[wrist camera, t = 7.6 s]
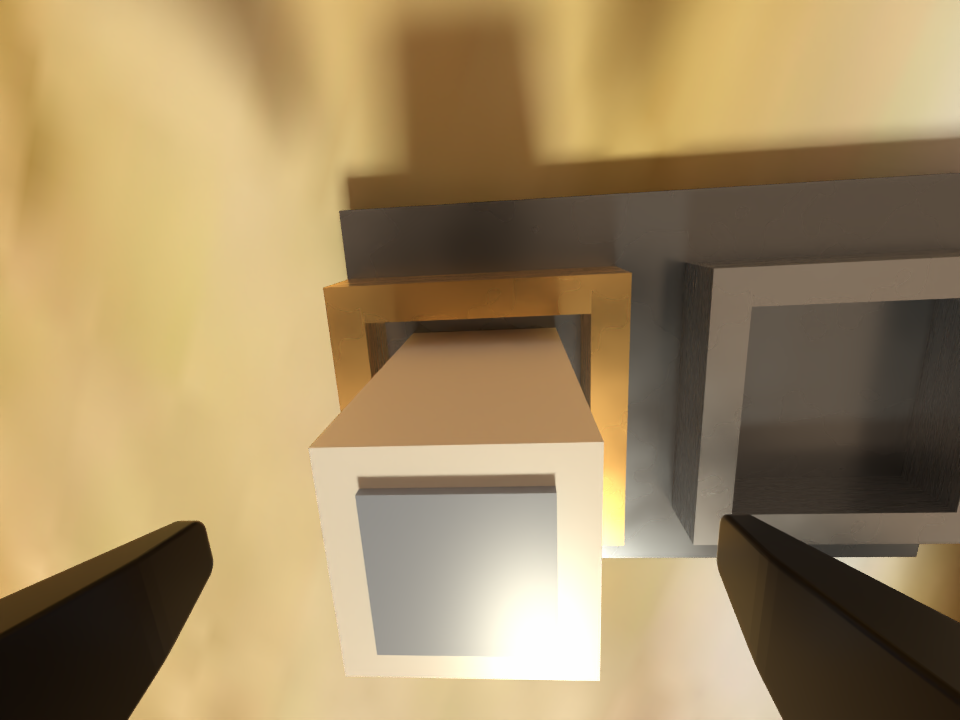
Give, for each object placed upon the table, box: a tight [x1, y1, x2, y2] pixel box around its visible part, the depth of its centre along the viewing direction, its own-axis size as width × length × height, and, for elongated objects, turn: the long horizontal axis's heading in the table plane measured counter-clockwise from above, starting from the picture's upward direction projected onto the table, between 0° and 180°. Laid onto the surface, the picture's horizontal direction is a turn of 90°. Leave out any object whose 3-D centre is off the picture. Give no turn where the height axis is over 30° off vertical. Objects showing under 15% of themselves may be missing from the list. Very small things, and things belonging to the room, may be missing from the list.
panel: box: [323, 173, 960, 558], centre depth 15 cm, size 18×12×3 cm, turn 93°
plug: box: [308, 328, 604, 681], centre depth 11 cm, size 4×4×8 cm
